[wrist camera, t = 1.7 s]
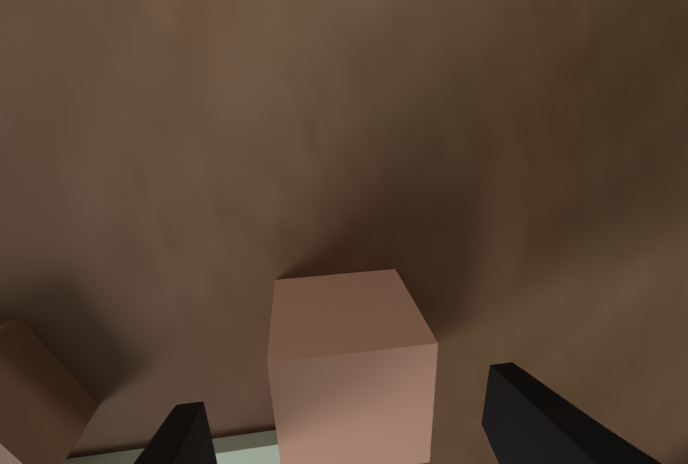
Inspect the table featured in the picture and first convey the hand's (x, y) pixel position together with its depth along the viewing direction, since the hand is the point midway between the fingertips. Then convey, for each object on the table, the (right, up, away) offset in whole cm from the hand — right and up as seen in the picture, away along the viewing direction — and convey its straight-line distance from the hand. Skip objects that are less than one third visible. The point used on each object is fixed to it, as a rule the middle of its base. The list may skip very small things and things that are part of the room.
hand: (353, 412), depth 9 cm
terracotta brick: (0, +1, +4) cm, 4 cm away
